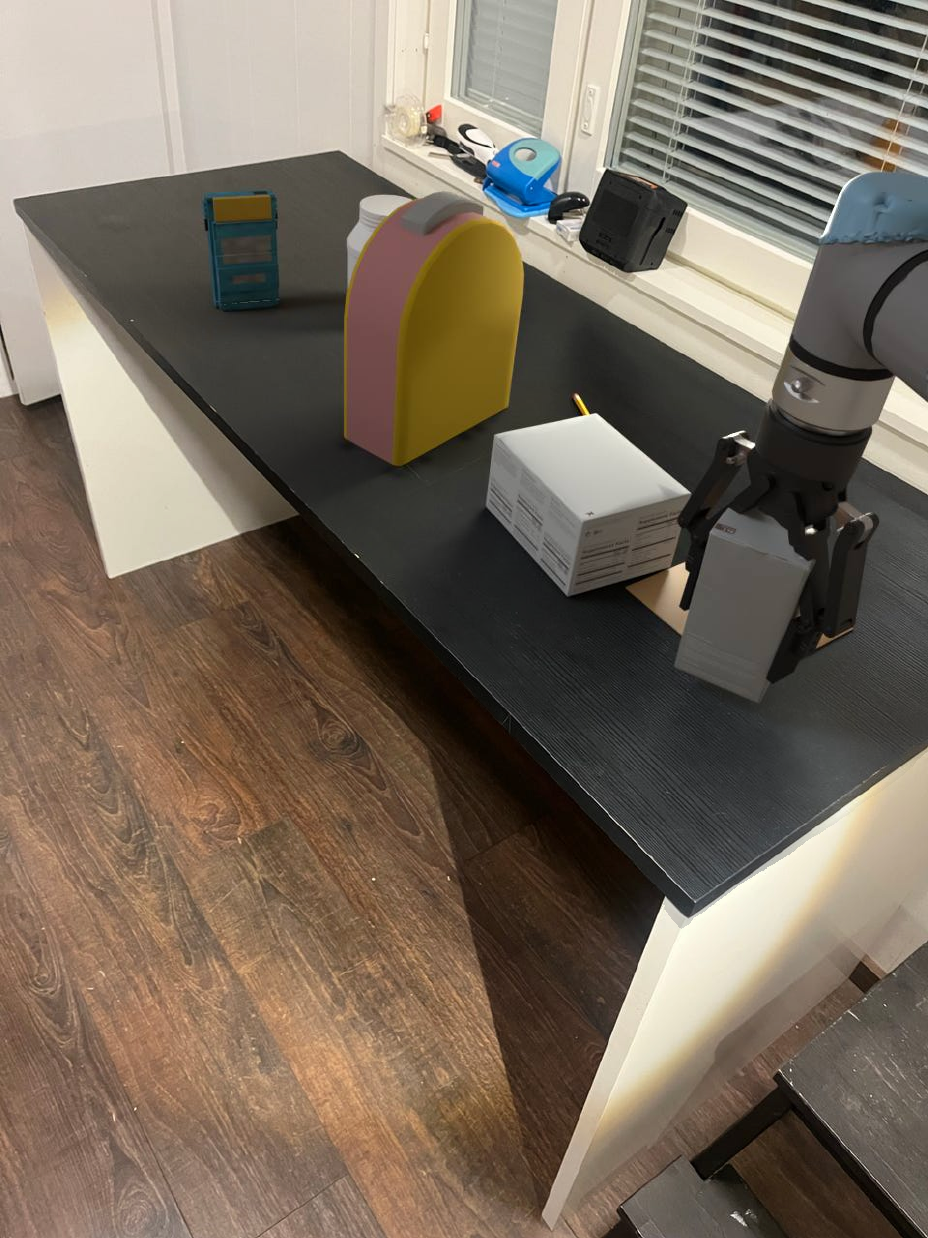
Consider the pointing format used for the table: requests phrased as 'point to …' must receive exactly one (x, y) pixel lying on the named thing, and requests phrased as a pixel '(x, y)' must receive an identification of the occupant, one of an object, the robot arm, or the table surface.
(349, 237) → the jar
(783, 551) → the cosmetic box
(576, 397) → the pencil
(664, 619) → the cork mat
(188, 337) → the table surface
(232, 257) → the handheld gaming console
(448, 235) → the lunch box
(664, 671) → the table surface
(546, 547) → the supplement box
